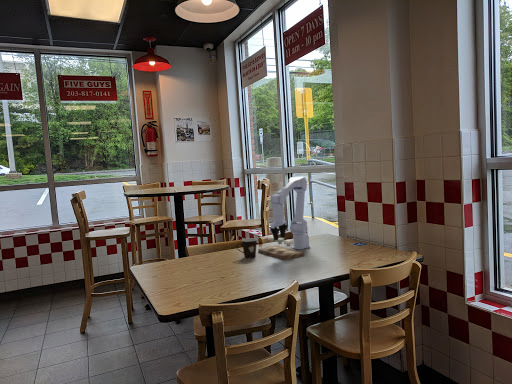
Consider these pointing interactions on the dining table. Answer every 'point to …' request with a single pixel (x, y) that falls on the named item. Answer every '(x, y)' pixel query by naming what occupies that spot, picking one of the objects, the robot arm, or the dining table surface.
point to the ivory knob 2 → (288, 242)
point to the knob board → (281, 252)
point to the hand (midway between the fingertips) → (279, 238)
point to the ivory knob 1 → (271, 238)
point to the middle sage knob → (280, 240)
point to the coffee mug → (248, 247)
